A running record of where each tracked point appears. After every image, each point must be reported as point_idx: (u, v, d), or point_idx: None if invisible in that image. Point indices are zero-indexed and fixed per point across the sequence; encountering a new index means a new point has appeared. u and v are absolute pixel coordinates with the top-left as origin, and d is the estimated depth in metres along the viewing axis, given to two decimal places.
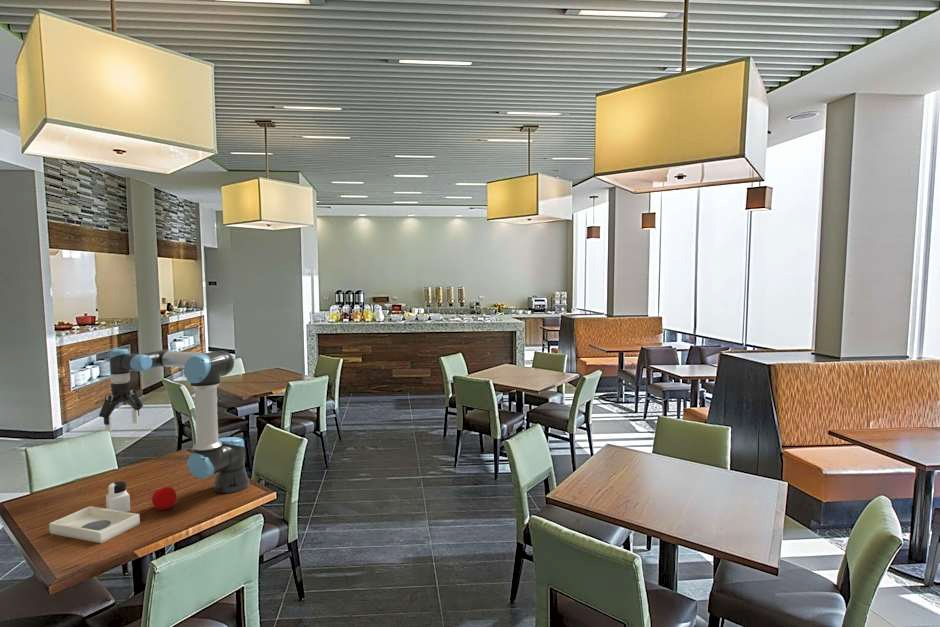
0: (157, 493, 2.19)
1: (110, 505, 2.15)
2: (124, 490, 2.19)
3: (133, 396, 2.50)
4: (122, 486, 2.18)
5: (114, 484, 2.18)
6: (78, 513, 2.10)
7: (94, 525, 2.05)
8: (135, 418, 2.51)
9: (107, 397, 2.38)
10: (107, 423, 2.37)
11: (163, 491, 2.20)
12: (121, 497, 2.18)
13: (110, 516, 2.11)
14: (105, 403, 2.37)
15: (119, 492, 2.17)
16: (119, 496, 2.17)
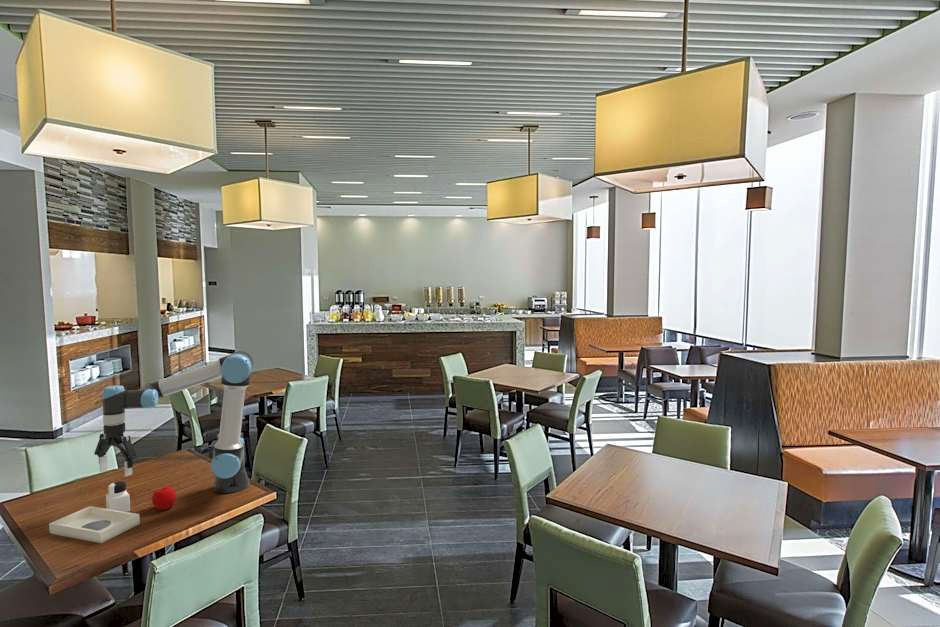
0: (157, 493, 2.19)
1: (110, 505, 2.15)
2: (124, 490, 2.19)
3: None
4: (122, 486, 2.18)
5: (114, 484, 2.18)
6: (78, 513, 2.10)
7: (94, 525, 2.05)
8: None
9: None
10: None
11: (163, 491, 2.20)
12: (121, 497, 2.18)
13: (110, 516, 2.11)
14: None
15: (119, 492, 2.17)
16: (119, 496, 2.17)
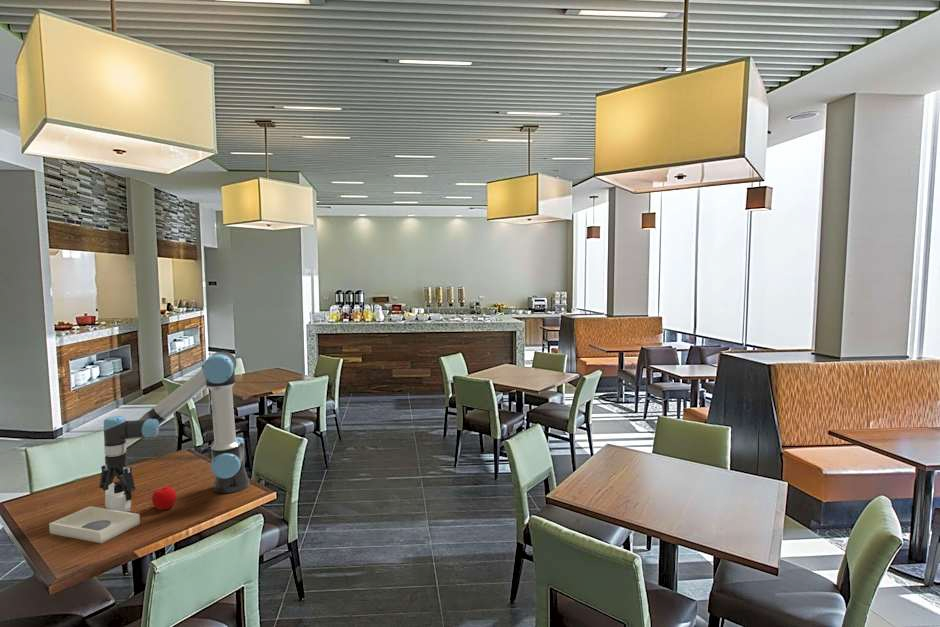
0: (157, 493, 2.19)
1: (110, 505, 2.15)
2: None
3: None
4: None
5: (114, 484, 2.18)
6: (78, 513, 2.10)
7: (94, 525, 2.05)
8: None
9: None
10: None
11: (163, 491, 2.20)
12: (121, 497, 2.18)
13: (110, 516, 2.11)
14: None
15: (119, 492, 2.17)
16: (119, 496, 2.17)
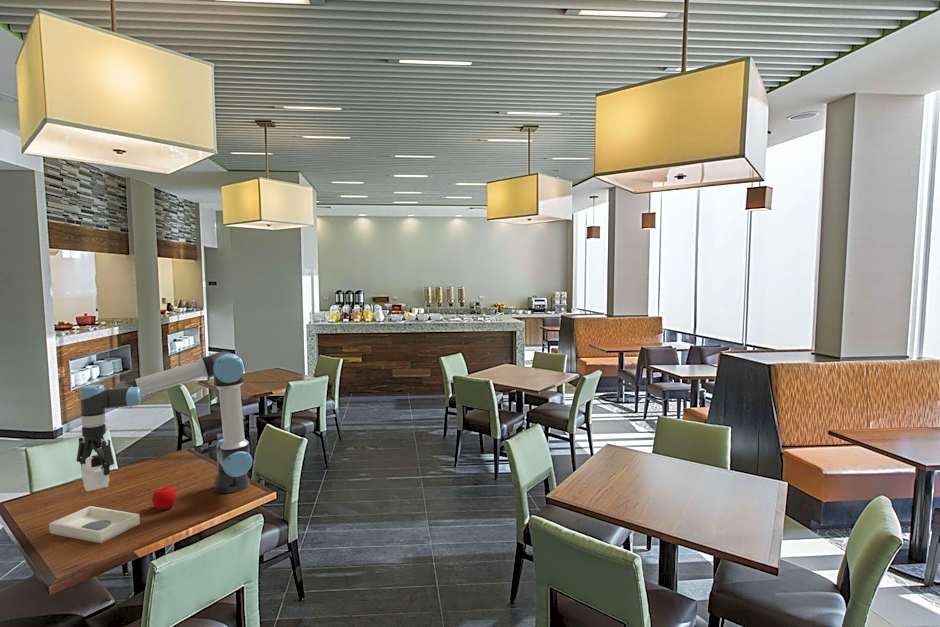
0: (157, 493, 2.19)
1: (86, 479, 2.01)
2: None
3: None
4: None
5: (91, 457, 2.04)
6: (78, 513, 2.10)
7: (94, 525, 2.05)
8: None
9: None
10: (82, 470, 2.06)
11: (163, 491, 2.20)
12: (99, 471, 2.03)
13: (110, 516, 2.11)
14: None
15: (96, 466, 2.03)
16: (96, 470, 2.03)
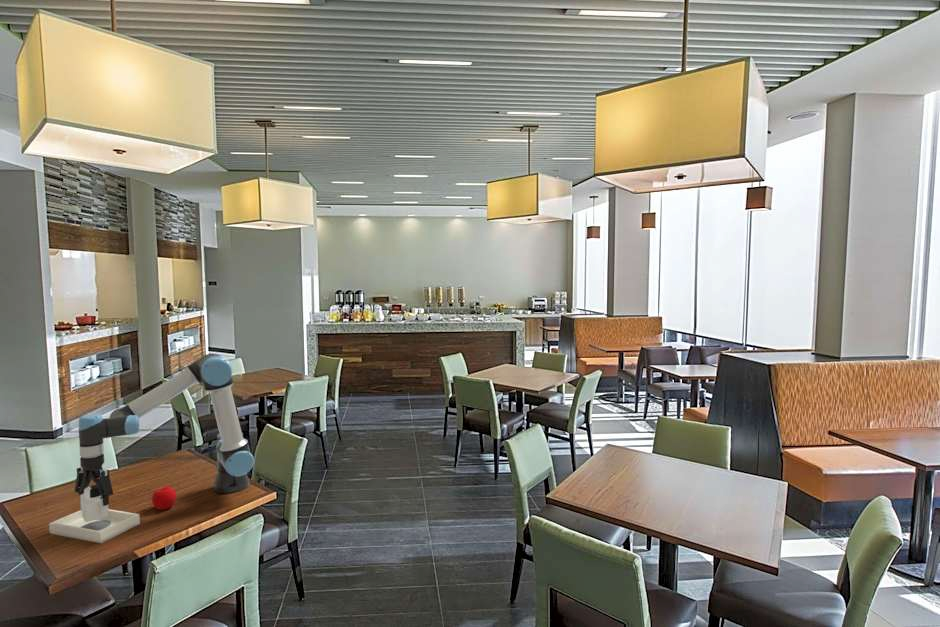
0: (157, 493, 2.19)
1: (85, 510, 1.99)
2: None
3: None
4: None
5: (90, 488, 2.02)
6: (78, 513, 2.10)
7: (94, 525, 2.05)
8: None
9: None
10: (80, 500, 2.05)
11: (163, 491, 2.20)
12: (97, 502, 2.02)
13: (110, 516, 2.11)
14: None
15: (95, 496, 2.01)
16: (95, 501, 2.01)
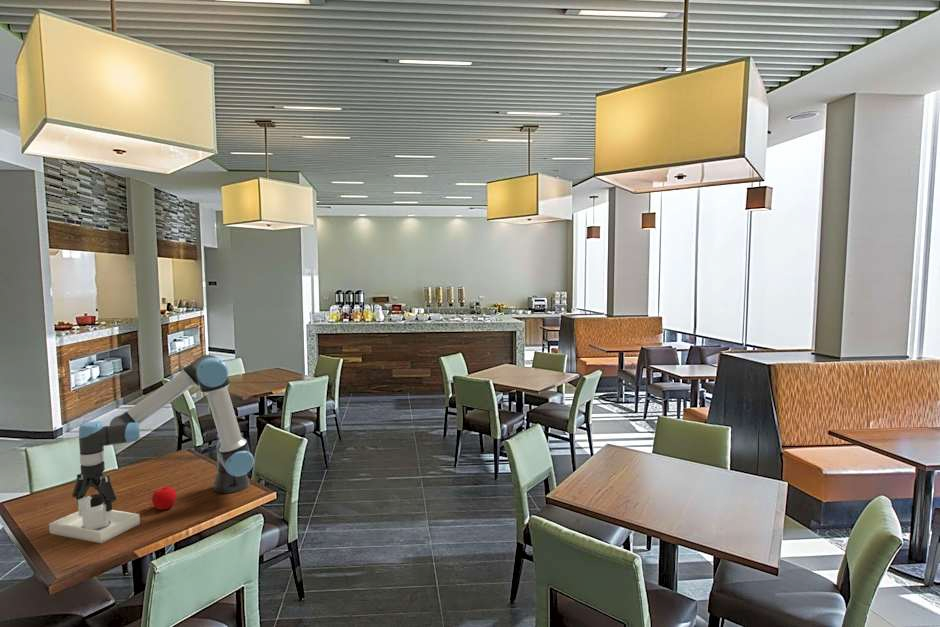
0: (157, 493, 2.19)
1: (86, 520, 1.99)
2: (101, 503, 2.04)
3: None
4: (99, 499, 2.03)
5: (90, 497, 2.02)
6: None
7: None
8: None
9: None
10: None
11: (163, 491, 2.20)
12: (98, 511, 2.02)
13: None
14: None
15: (96, 506, 2.02)
16: (96, 510, 2.02)
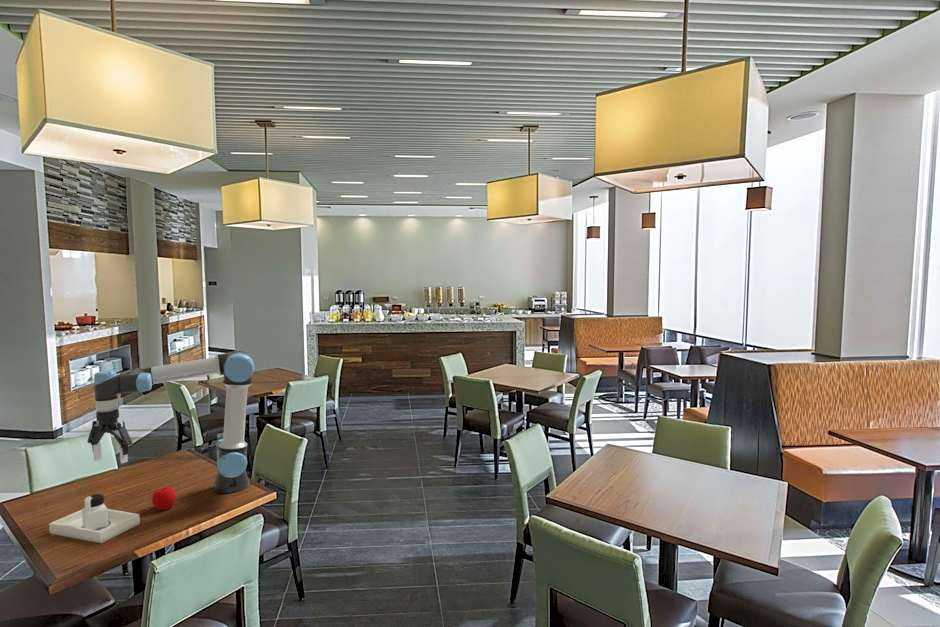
0: (157, 493, 2.19)
1: (86, 520, 1.99)
2: (102, 503, 2.04)
3: None
4: (99, 499, 2.03)
5: (91, 497, 2.02)
6: (78, 513, 2.10)
7: None
8: None
9: None
10: None
11: (163, 491, 2.20)
12: (98, 511, 2.02)
13: (110, 516, 2.11)
14: None
15: (96, 506, 2.02)
16: (96, 510, 2.02)
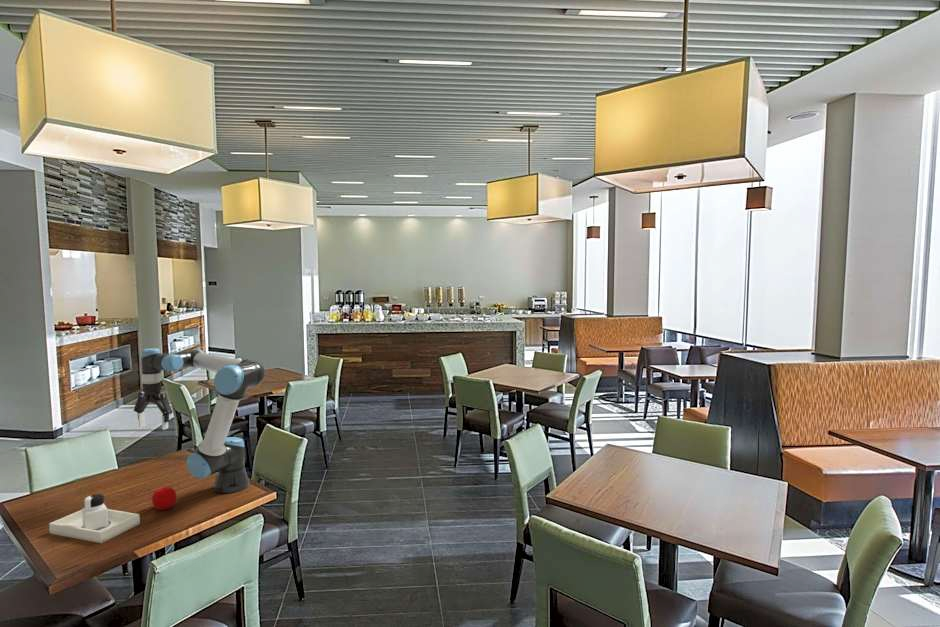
0: (157, 493, 2.19)
1: (86, 520, 1.99)
2: (102, 503, 2.04)
3: None
4: (99, 499, 2.03)
5: (91, 497, 2.02)
6: (78, 513, 2.10)
7: None
8: None
9: None
10: (138, 418, 2.43)
11: (163, 491, 2.20)
12: (98, 511, 2.02)
13: (110, 516, 2.11)
14: None
15: (96, 506, 2.02)
16: (96, 510, 2.02)
